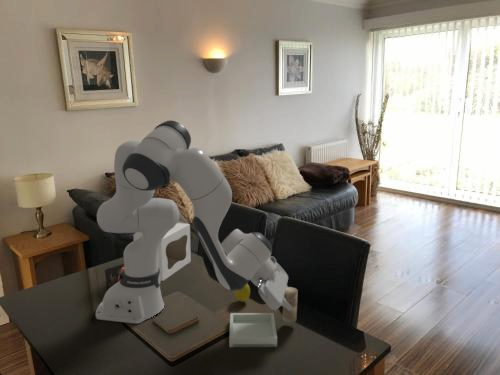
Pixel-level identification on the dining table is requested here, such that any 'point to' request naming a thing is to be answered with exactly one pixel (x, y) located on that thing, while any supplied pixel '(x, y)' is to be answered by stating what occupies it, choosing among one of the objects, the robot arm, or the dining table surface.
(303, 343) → the dining table surface
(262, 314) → the tray
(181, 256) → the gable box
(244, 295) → the lemon
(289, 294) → the dowel
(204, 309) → the dining table surface
